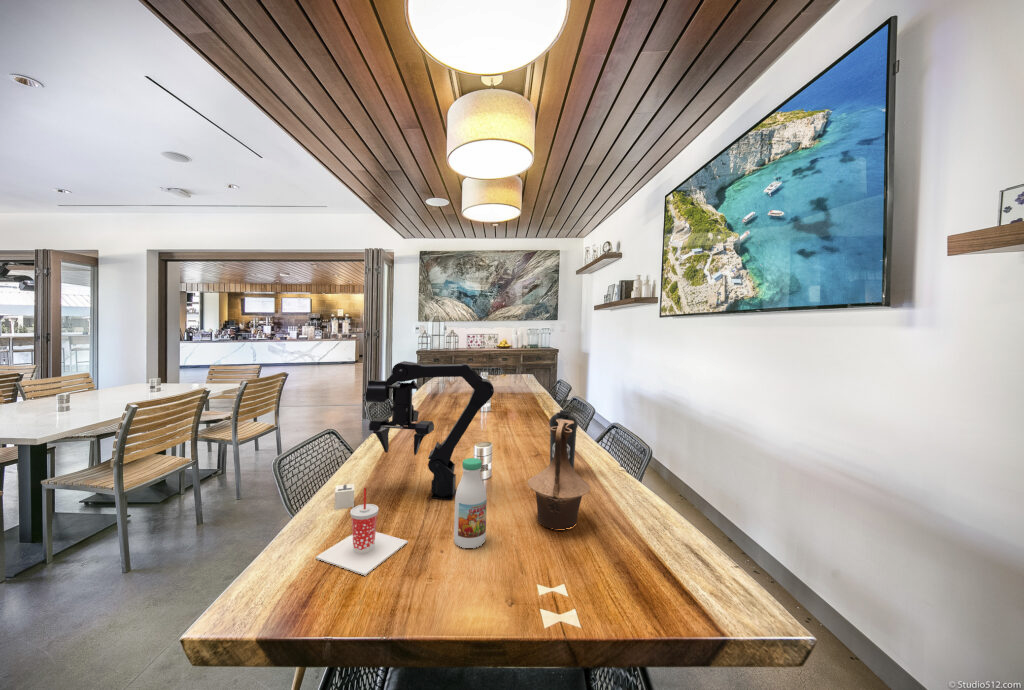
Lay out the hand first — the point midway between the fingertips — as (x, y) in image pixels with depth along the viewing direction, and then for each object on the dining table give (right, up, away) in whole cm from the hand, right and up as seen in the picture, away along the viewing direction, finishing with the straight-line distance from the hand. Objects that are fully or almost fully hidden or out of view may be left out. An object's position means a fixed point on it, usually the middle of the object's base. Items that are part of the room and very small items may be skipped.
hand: (401, 453), depth 119 cm
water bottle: (+52, -14, +23) cm, 59 cm away
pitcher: (+46, -15, -13) cm, 50 cm away
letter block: (-14, -13, -7) cm, 20 cm away
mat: (0, -14, -30) cm, 33 cm away
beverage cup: (0, -14, -29) cm, 32 cm away
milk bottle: (+24, -15, -24) cm, 37 cm away
